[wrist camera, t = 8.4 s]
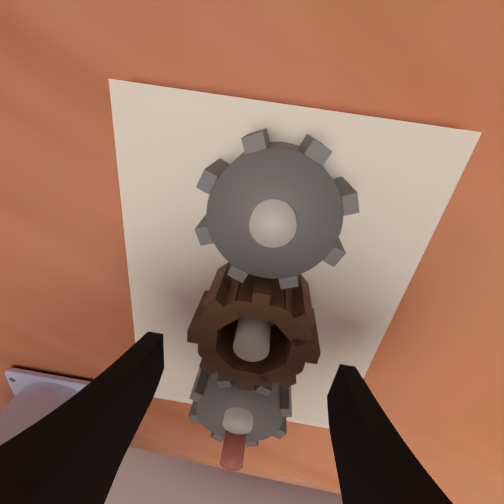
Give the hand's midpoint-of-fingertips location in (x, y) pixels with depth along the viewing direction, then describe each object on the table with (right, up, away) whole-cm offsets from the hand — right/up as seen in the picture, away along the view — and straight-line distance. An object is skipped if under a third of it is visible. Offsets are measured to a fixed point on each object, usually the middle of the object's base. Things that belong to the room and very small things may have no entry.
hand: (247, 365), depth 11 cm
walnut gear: (0, +2, +3) cm, 4 cm away
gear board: (+1, +2, +5) cm, 5 cm away
